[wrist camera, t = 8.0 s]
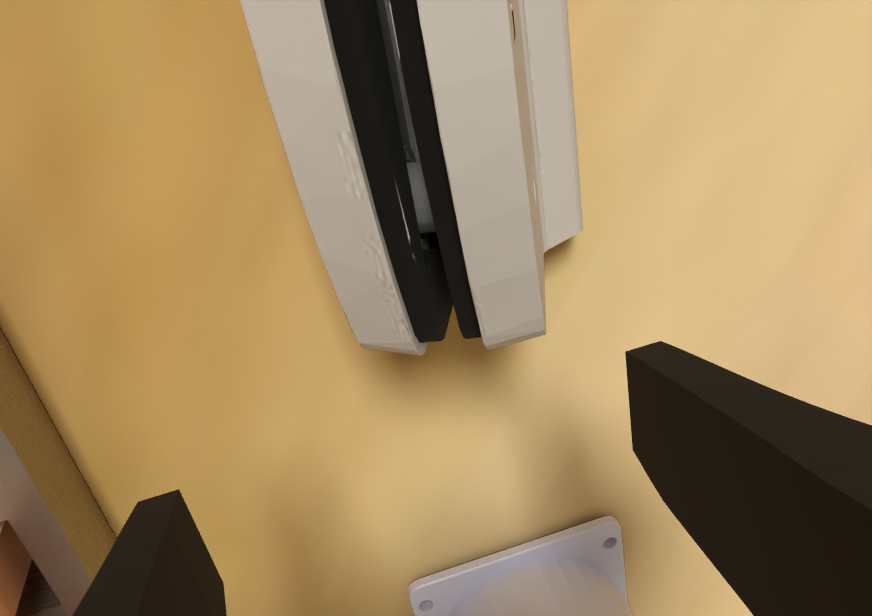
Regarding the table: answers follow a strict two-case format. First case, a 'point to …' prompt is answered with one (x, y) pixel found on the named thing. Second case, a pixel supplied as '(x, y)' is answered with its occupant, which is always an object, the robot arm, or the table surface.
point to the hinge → (427, 156)
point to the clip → (12, 569)
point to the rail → (45, 500)
